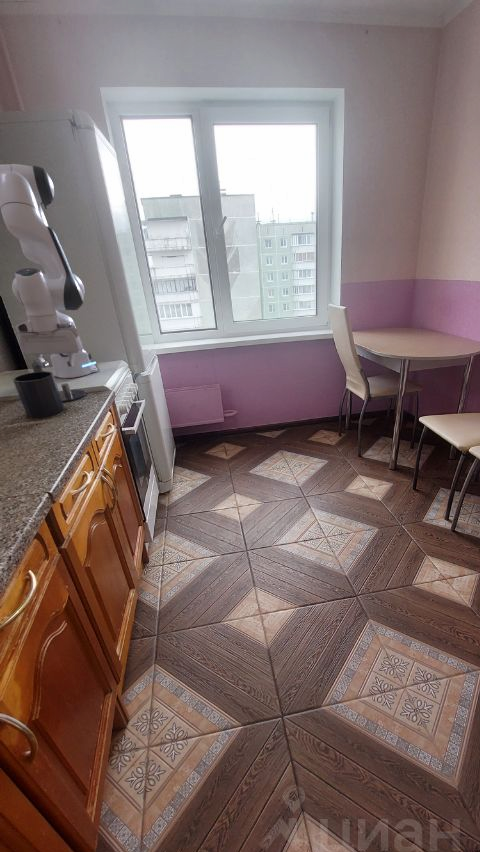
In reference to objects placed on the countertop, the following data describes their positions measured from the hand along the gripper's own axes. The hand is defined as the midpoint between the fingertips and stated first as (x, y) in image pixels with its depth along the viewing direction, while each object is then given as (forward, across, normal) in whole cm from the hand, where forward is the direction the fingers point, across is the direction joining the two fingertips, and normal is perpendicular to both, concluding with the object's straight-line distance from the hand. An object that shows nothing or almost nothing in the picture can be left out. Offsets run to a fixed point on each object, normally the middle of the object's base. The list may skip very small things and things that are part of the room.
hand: (58, 366), depth 133 cm
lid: (+11, 0, -1) cm, 11 cm away
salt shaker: (+12, +14, -9) cm, 21 cm away
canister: (+12, 0, +14) cm, 19 cm away
